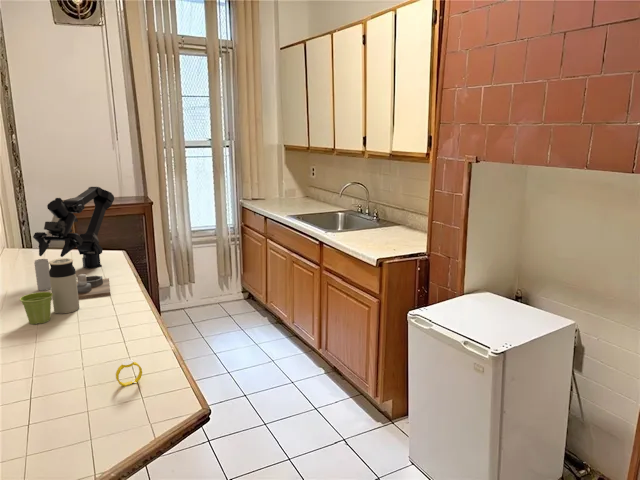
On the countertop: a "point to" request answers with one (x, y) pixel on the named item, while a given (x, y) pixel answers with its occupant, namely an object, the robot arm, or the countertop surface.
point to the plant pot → (37, 306)
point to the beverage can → (42, 274)
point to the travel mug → (63, 286)
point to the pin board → (92, 286)
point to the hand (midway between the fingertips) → (50, 256)
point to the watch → (128, 364)
